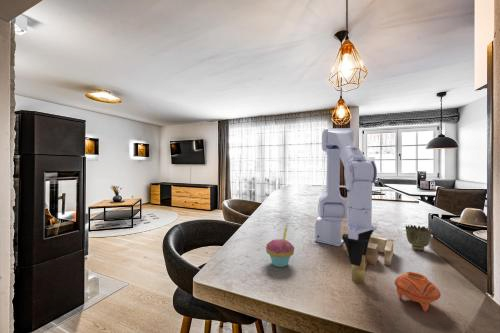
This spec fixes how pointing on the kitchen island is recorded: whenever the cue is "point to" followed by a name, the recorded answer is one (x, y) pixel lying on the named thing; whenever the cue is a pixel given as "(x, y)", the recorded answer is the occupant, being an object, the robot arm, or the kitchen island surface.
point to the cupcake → (280, 251)
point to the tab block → (365, 263)
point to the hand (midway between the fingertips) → (358, 259)
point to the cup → (418, 237)
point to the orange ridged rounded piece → (417, 289)
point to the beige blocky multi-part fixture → (383, 248)
